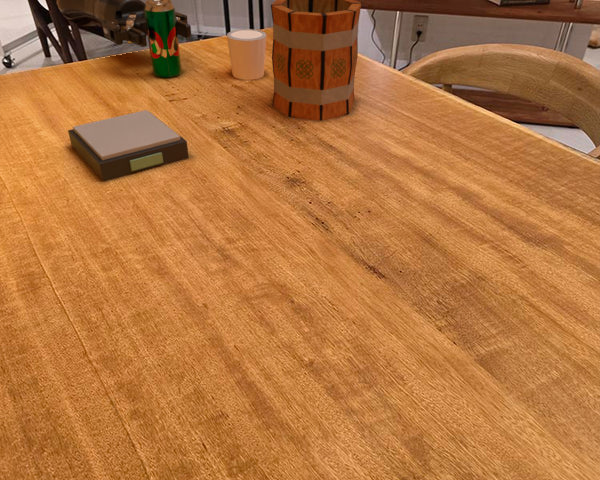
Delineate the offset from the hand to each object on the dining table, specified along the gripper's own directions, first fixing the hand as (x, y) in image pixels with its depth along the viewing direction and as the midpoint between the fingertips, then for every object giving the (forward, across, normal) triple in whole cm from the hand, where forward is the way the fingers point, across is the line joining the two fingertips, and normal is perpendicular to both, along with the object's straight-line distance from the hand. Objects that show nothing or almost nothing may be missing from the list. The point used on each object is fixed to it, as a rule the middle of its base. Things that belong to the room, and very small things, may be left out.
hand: (167, 35), depth 100 cm
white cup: (+7, +11, +7) cm, 15 cm away
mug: (+23, +13, +7) cm, 27 cm away
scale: (+23, -20, +7) cm, 31 cm away
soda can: (-2, 0, +7) cm, 7 cm away
